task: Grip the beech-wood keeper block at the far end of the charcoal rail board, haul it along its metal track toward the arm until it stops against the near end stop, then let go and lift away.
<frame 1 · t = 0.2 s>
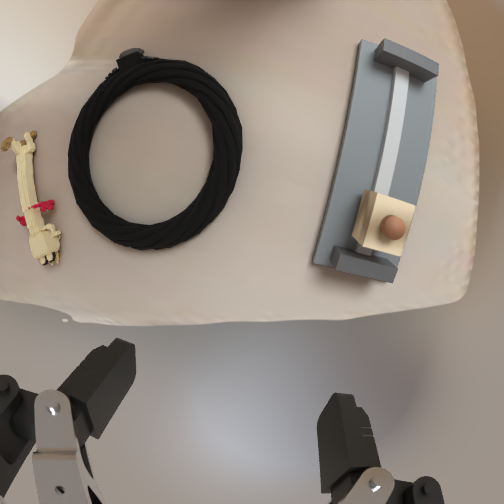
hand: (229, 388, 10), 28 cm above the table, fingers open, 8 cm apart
rail board: (382, 157, 32), on the table
cat figure: (42, 197, 39), on the table
cable lock: (147, 144, 35), on the table
keeper: (384, 222, 29), point 6 cm above the table, slide at 0.0 cm
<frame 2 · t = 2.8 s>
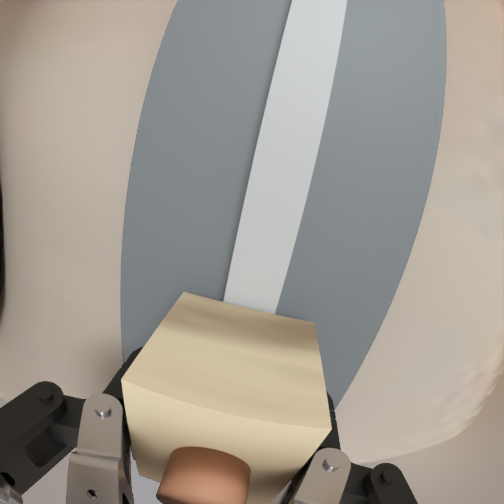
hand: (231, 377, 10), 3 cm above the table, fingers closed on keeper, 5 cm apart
rail board: (281, 170, 11), on the table
keeper: (219, 426, 8), point 6 cm above the table, slide at 0.0 cm, touching gripper
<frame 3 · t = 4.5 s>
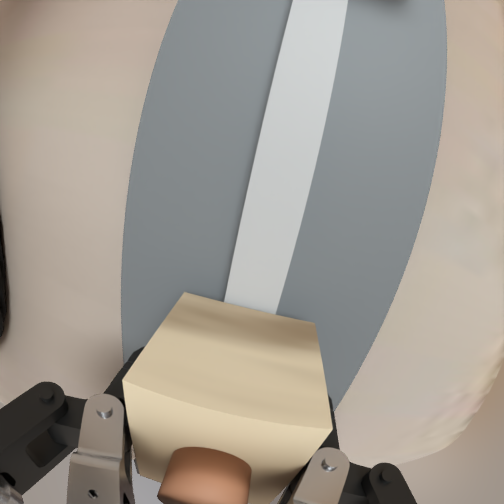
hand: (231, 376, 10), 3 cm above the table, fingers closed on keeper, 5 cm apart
rail board: (270, 218, 12), on the table
keeper: (220, 426, 8), point 6 cm above the table, slide at 2.1 cm, touching gripper
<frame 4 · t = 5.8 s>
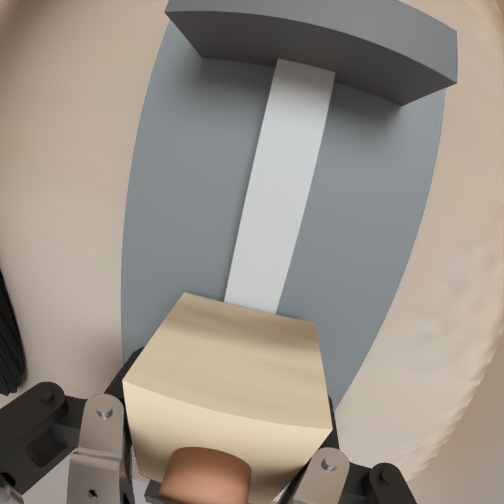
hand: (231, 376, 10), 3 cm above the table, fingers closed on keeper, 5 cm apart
rail board: (238, 348, 14), on the table
keeper: (220, 426, 8), point 6 cm above the table, slide at 9.1 cm, touching gripper
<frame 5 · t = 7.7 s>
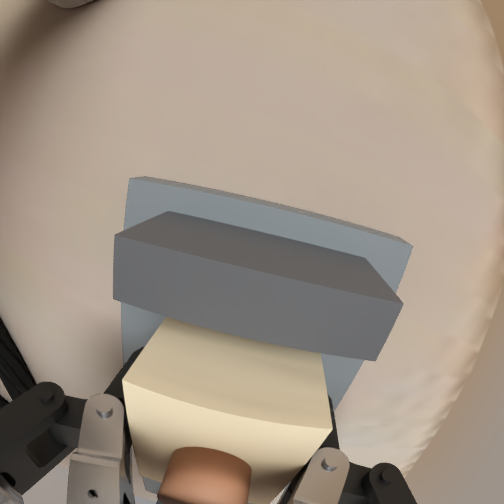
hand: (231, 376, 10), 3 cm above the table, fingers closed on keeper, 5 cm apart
rail board: (217, 432, 17), on the table
keeper: (220, 426, 8), point 6 cm above the table, slide at 17.4 cm, touching gripper
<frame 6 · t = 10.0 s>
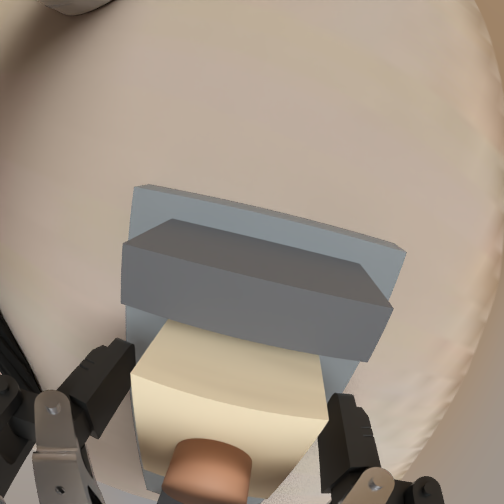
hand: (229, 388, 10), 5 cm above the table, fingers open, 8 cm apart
rail board: (217, 431, 17), on the table
keeper: (222, 420, 8), point 6 cm above the table, slide at 17.6 cm
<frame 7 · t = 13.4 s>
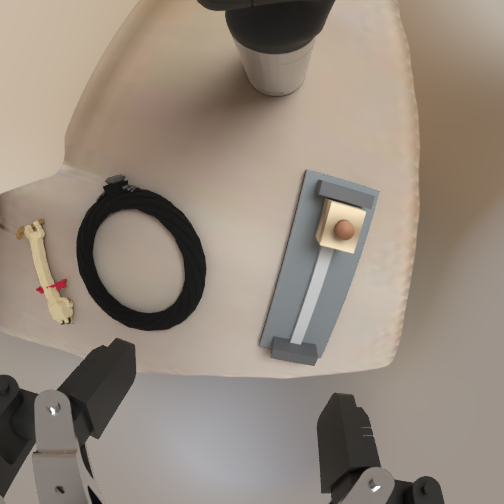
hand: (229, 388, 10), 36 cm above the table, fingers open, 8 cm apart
rail board: (316, 273, 46), on the table
cat figure: (54, 271, 53), on the table
cable lock: (137, 254, 49), on the table
keeper: (340, 225, 37), point 6 cm above the table, slide at 17.6 cm
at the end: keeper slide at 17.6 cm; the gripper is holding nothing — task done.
